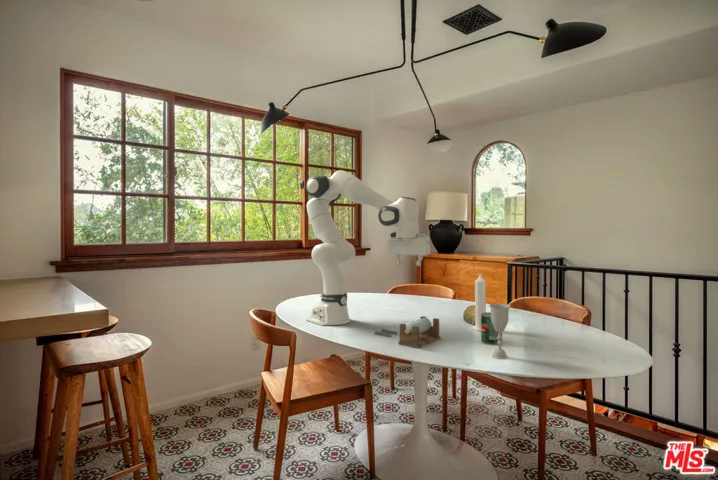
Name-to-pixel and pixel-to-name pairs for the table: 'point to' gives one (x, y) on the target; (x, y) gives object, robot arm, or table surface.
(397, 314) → the table surface
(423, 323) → the paper roll
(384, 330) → the rest strips
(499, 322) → the chalice
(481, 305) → the candle
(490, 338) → the canned tomato
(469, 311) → the pastry
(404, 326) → the roll holder
